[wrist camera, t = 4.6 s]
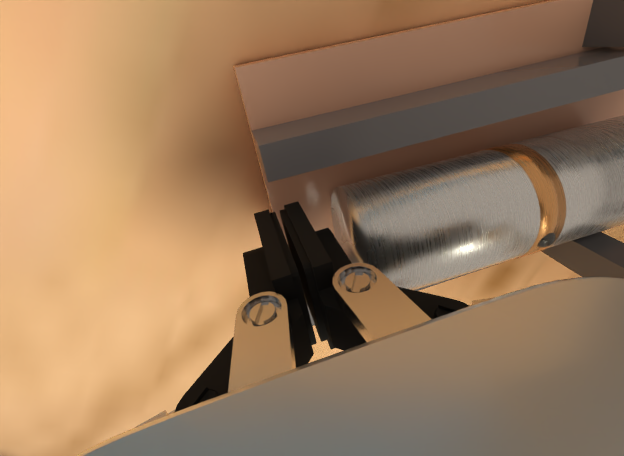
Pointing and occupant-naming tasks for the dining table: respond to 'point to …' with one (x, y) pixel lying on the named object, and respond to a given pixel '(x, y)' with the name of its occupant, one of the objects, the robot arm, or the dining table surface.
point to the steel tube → (484, 205)
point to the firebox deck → (436, 103)
